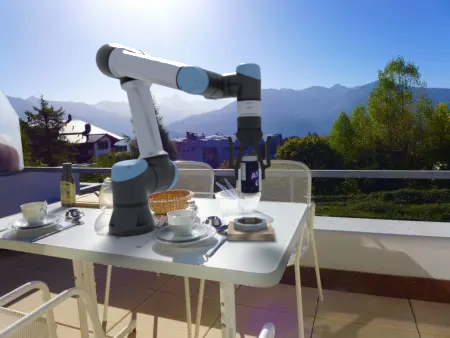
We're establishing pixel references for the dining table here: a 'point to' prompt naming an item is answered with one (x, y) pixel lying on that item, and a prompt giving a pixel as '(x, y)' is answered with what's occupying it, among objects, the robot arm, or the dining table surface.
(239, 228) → the collar
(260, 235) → the oak board
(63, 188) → the sauce bottle
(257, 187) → the beverage can
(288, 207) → the dining table surface
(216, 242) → the dining table surface
